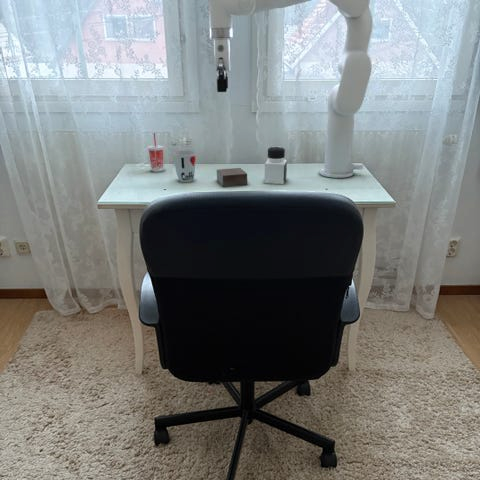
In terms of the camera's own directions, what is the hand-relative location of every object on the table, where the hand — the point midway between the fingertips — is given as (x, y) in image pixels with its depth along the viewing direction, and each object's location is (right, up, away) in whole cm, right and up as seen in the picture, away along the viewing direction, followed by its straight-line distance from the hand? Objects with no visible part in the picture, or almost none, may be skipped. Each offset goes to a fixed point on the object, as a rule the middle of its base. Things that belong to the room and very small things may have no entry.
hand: (222, 90), depth 180 cm
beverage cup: (-27, -21, +23) cm, 41 cm away
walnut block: (+3, -30, +7) cm, 31 cm away
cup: (-14, -29, +11) cm, 34 cm away
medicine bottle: (+19, -30, +8) cm, 36 cm away
